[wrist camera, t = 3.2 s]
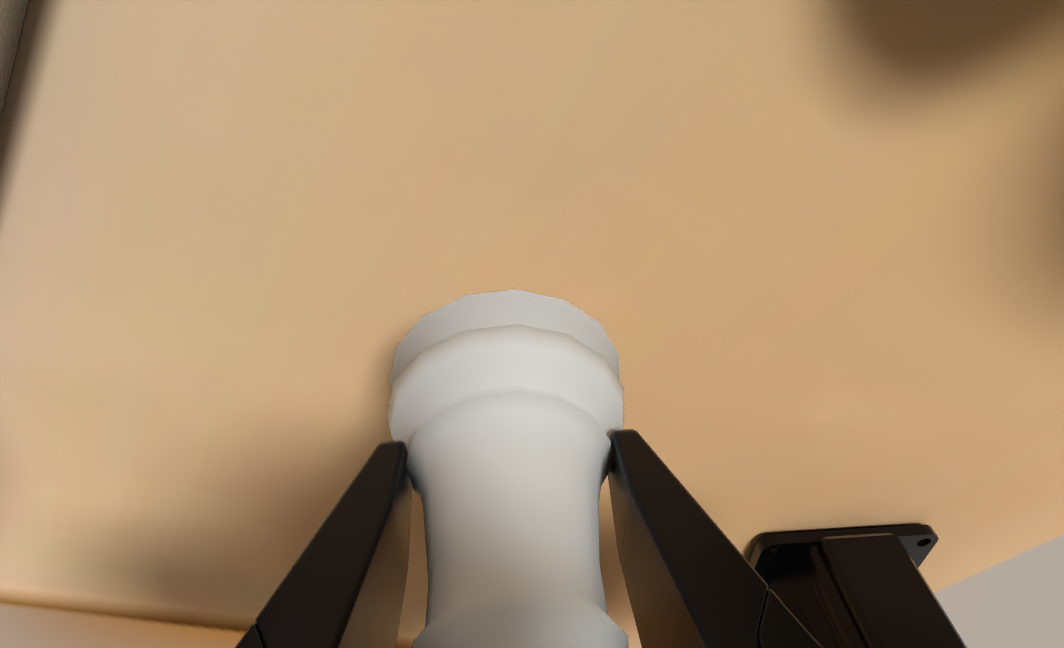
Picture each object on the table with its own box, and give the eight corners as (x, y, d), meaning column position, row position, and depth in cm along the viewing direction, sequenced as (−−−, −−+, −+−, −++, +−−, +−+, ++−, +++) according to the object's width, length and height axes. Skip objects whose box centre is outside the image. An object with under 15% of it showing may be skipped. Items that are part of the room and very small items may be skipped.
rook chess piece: (343, 363, 12) (177, 961, 5) (518, 227, 10) (581, 845, 4) (496, 470, 14) (508, 978, 8) (658, 372, 12) (846, 910, 6)
